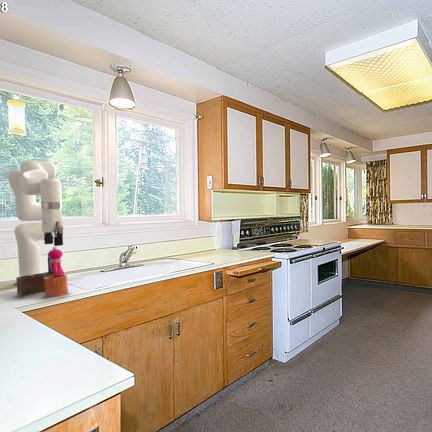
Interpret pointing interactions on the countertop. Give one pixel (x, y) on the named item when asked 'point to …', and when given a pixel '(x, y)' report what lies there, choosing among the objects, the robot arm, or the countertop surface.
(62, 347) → the countertop surface
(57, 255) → the pepper mill
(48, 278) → the crock
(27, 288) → the caddy
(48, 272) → the blue rounded rod
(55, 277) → the red toy mallet
